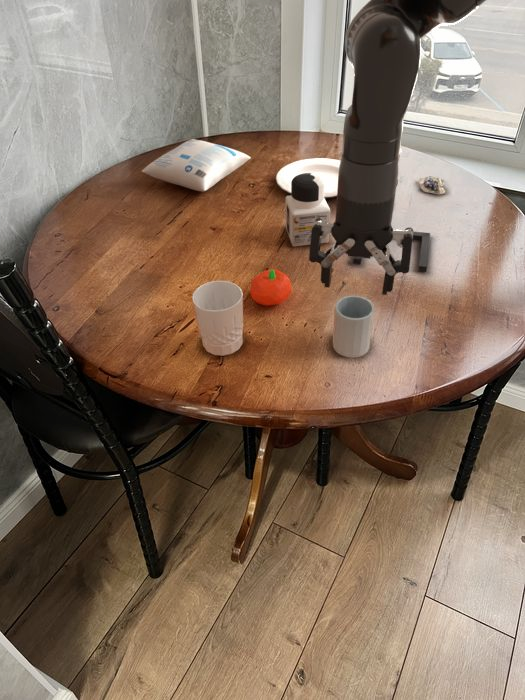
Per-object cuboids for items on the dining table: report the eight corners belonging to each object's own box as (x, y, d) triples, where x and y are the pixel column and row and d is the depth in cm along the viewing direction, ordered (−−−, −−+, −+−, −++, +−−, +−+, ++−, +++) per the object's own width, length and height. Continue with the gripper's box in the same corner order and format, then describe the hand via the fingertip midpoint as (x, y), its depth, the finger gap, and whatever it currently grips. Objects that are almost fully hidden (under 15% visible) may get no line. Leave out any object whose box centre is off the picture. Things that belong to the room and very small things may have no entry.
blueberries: (437, 177, 131) (439, 170, 130) (454, 192, 126) (456, 184, 124) (412, 182, 130) (413, 174, 129) (428, 197, 125) (430, 189, 123)
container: (292, 247, 111) (292, 188, 103) (285, 228, 117) (284, 171, 108) (329, 243, 112) (332, 184, 103) (320, 224, 118) (322, 167, 109)
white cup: (212, 323, 95) (206, 276, 88) (253, 333, 92) (250, 286, 86) (191, 352, 90) (183, 304, 83) (234, 363, 87) (229, 315, 80)
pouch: (201, 173, 121) (249, 138, 132) (137, 159, 129) (188, 127, 141) (207, 205, 126) (252, 168, 138) (145, 190, 134) (193, 156, 146)
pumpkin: (241, 302, 99) (239, 273, 94) (270, 282, 103) (269, 253, 98) (271, 318, 95) (270, 289, 91) (299, 296, 99) (300, 267, 95)
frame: (429, 238, 112) (430, 232, 111) (426, 272, 103) (427, 266, 102) (361, 231, 115) (361, 226, 114) (353, 263, 106) (353, 258, 105)
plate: (340, 212, 121) (341, 204, 120) (260, 193, 129) (260, 185, 128) (374, 174, 134) (375, 166, 133) (299, 159, 142) (299, 152, 141)
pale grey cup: (371, 335, 91) (376, 298, 85) (367, 360, 87) (371, 322, 81) (335, 330, 92) (338, 293, 87) (329, 354, 88) (332, 316, 82)
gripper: (307, 195, 69) (304, 296, 80) (421, 206, 66) (402, 309, 77) (317, 170, 74) (314, 268, 85) (424, 179, 71) (406, 279, 82)
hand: (356, 288), depth 81 cm, fingers open, 8 cm apart
